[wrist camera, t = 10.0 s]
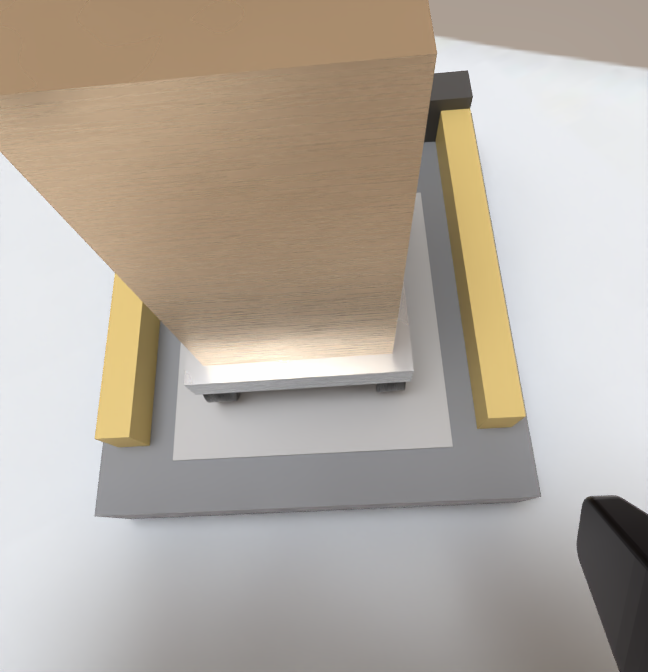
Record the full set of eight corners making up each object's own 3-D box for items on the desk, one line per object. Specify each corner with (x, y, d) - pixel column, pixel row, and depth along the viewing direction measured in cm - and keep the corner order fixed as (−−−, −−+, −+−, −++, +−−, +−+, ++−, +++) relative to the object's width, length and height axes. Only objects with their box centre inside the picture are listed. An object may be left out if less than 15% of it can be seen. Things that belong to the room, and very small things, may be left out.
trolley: (406, 397, 16) (570, -166, 3) (212, 409, 16) (-348, -59, 3) (385, 201, 18) (430, -543, 6) (219, 214, 19) (-86, -460, 6)
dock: (517, 502, 17) (566, 491, 13) (130, 518, 18) (57, 513, 14) (460, 157, 22) (482, 69, 18) (161, 181, 23) (115, 101, 19)
